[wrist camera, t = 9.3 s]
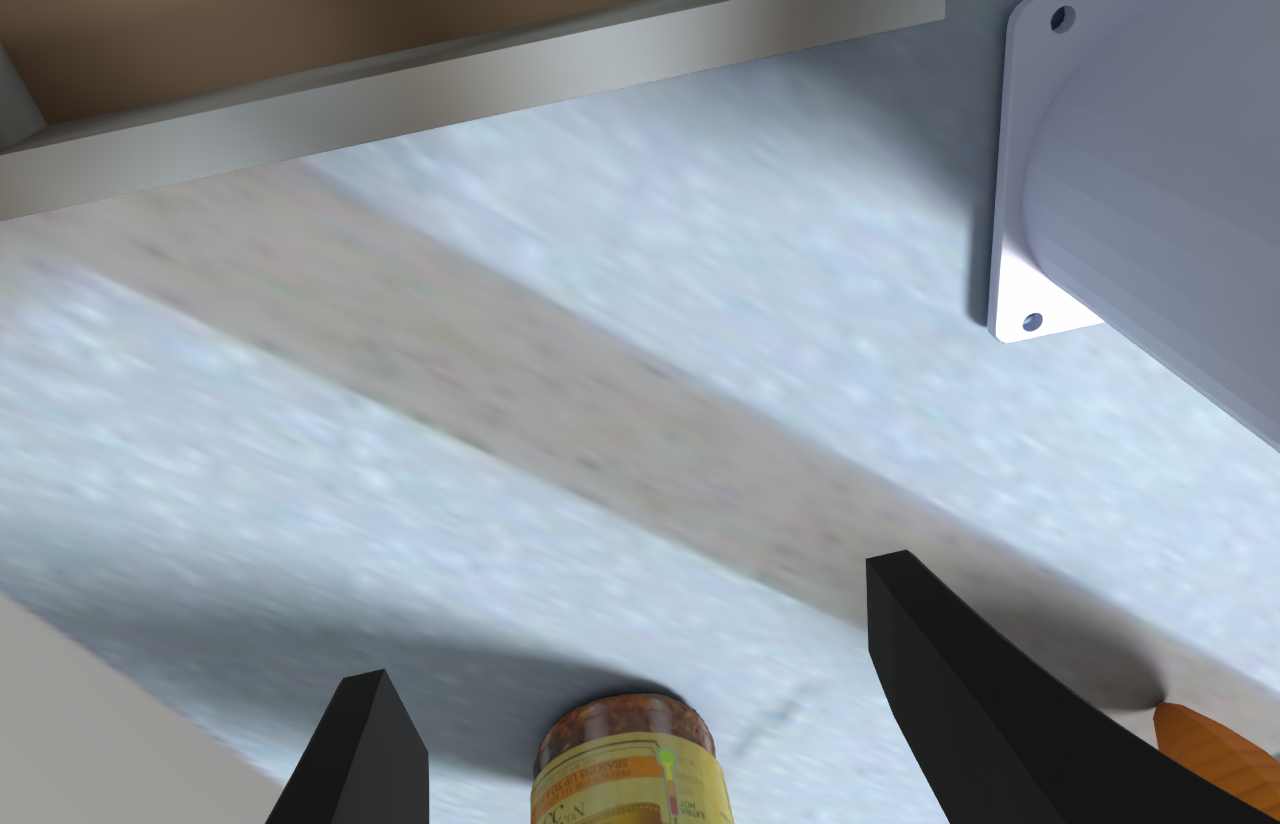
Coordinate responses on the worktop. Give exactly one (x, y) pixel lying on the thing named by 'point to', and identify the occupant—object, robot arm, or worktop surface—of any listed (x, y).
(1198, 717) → the carrot
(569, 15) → the corral
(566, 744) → the sauce bottle
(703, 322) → the worktop surface
